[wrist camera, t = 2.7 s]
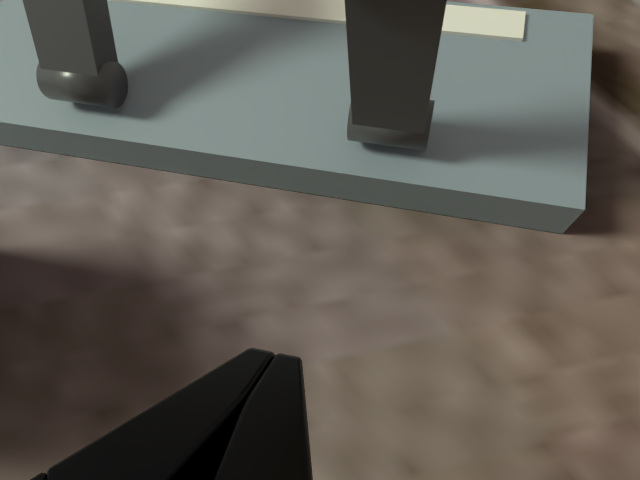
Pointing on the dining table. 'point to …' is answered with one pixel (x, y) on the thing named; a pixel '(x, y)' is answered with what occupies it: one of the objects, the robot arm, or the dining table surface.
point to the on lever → (76, 52)
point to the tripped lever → (392, 69)
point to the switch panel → (327, 106)
